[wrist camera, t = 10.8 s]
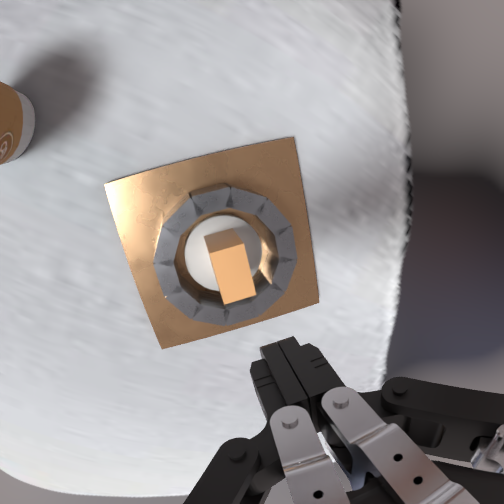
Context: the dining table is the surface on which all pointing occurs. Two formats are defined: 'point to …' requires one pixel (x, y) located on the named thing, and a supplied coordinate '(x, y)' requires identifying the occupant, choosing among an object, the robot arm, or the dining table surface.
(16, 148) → the coffee cup
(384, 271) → the dining table surface
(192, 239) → the cap
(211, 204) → the board with grey ring
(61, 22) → the dining table surface
